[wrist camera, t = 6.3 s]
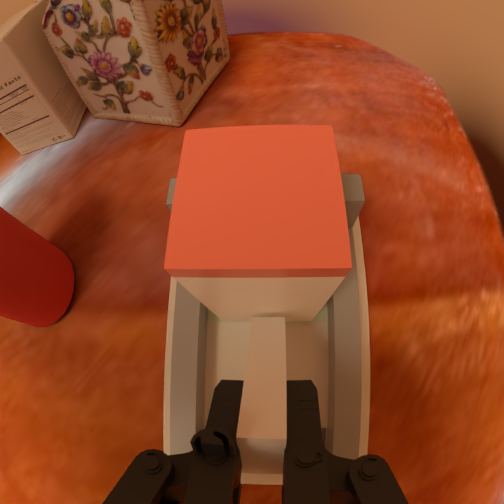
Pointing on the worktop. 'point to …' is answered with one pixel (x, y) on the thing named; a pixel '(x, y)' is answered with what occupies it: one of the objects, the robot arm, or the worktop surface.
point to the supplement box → (34, 85)
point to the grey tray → (297, 356)
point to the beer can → (32, 275)
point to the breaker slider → (259, 221)
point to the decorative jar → (139, 54)
